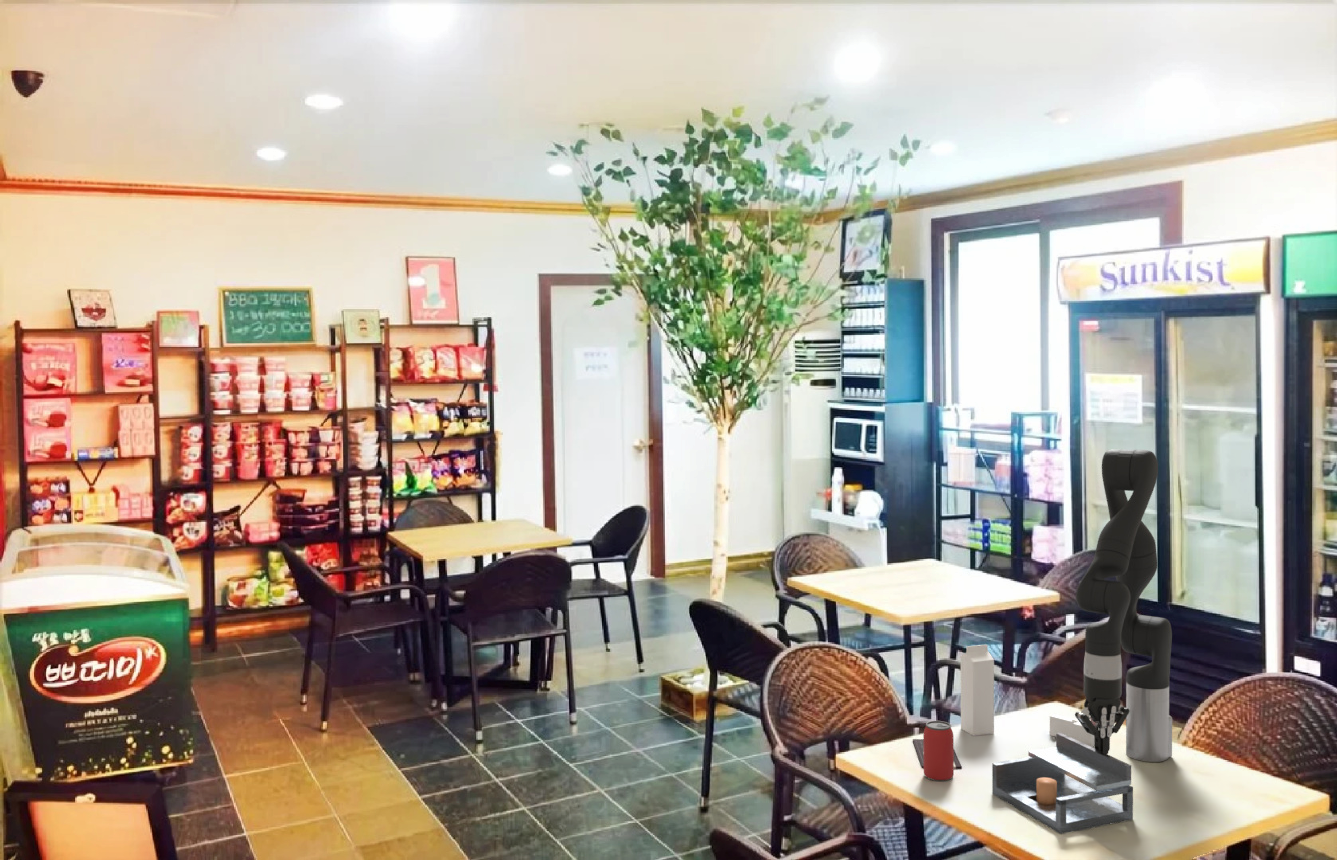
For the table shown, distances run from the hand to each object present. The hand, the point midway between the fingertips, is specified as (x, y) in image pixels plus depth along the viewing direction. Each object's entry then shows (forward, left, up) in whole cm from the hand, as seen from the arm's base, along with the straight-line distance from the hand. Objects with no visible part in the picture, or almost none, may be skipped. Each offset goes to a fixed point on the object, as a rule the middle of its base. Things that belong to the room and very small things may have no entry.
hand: (1102, 753), depth 236 cm
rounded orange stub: (+14, 0, -10) cm, 17 cm away
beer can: (+25, -24, -10) cm, 36 cm away
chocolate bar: (+17, -36, -11) cm, 42 cm away
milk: (-1, -46, -10) cm, 47 cm away
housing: (+11, 0, -10) cm, 15 cm away
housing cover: (+6, 0, -3) cm, 7 cm away
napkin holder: (-18, -31, -11) cm, 38 cm away
